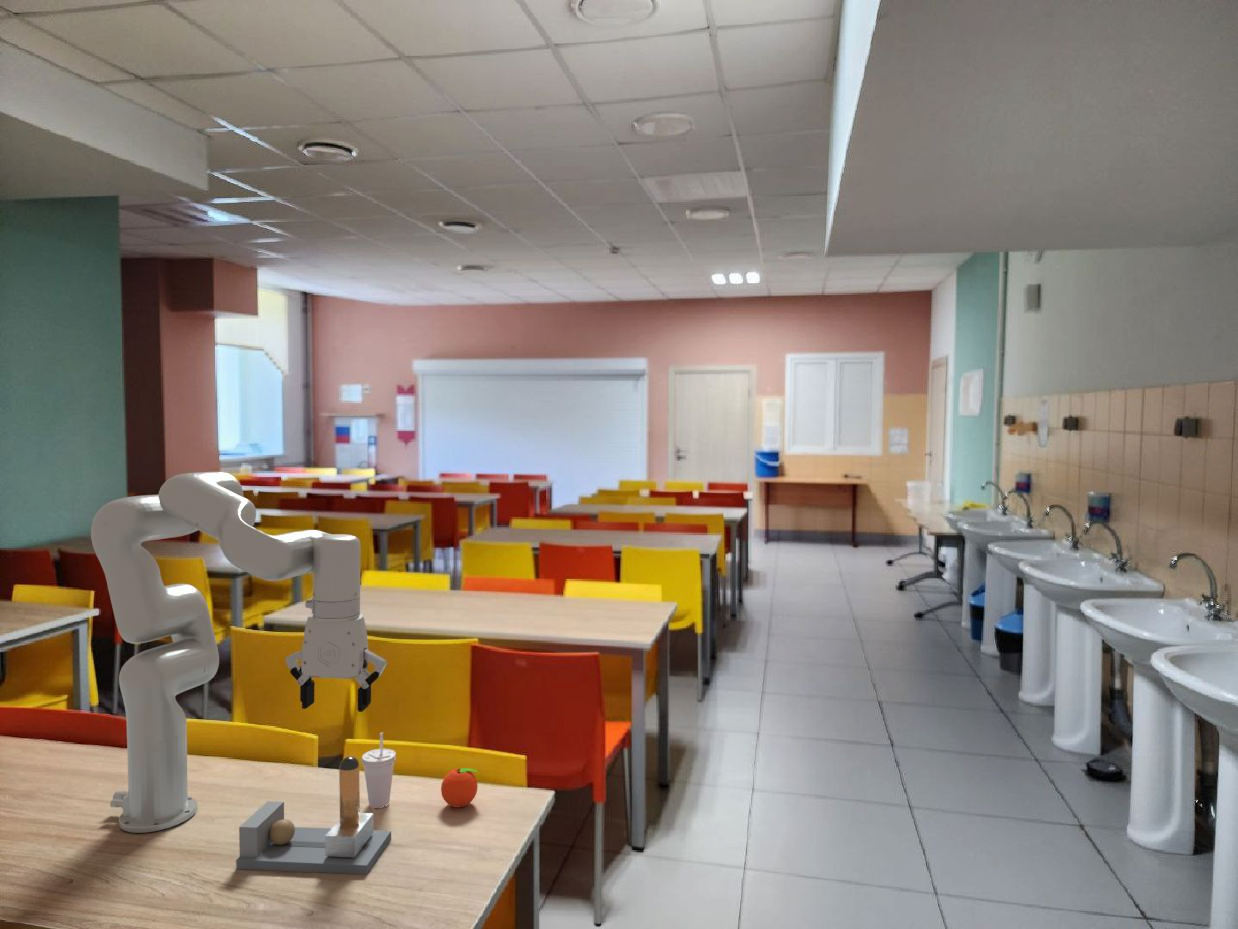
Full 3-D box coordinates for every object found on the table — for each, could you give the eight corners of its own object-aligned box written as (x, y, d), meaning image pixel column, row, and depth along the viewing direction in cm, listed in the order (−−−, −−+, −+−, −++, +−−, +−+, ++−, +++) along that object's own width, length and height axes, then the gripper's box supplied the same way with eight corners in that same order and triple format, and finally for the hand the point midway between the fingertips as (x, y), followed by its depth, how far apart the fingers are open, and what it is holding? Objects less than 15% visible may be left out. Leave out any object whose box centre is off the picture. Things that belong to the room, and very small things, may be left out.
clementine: (478, 793, 155) (477, 758, 154) (487, 808, 148) (487, 772, 148) (437, 801, 151) (437, 765, 151) (445, 817, 145) (445, 779, 145)
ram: (325, 856, 128) (324, 766, 127) (345, 831, 136) (344, 747, 135) (354, 857, 127) (353, 767, 127) (373, 832, 135) (372, 748, 135)
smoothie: (386, 814, 146) (385, 740, 145) (355, 810, 147) (354, 738, 147) (402, 798, 152) (401, 728, 152) (372, 795, 154) (371, 725, 153)
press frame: (236, 868, 127) (235, 830, 127) (270, 834, 138) (270, 798, 138) (366, 874, 126) (366, 835, 126) (391, 839, 137) (390, 803, 137)
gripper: (275, 611, 128) (275, 713, 129) (378, 615, 127) (376, 718, 128) (297, 601, 135) (297, 697, 136) (394, 605, 134) (393, 702, 135)
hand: (335, 707), depth 132 cm, fingers open, 9 cm apart
